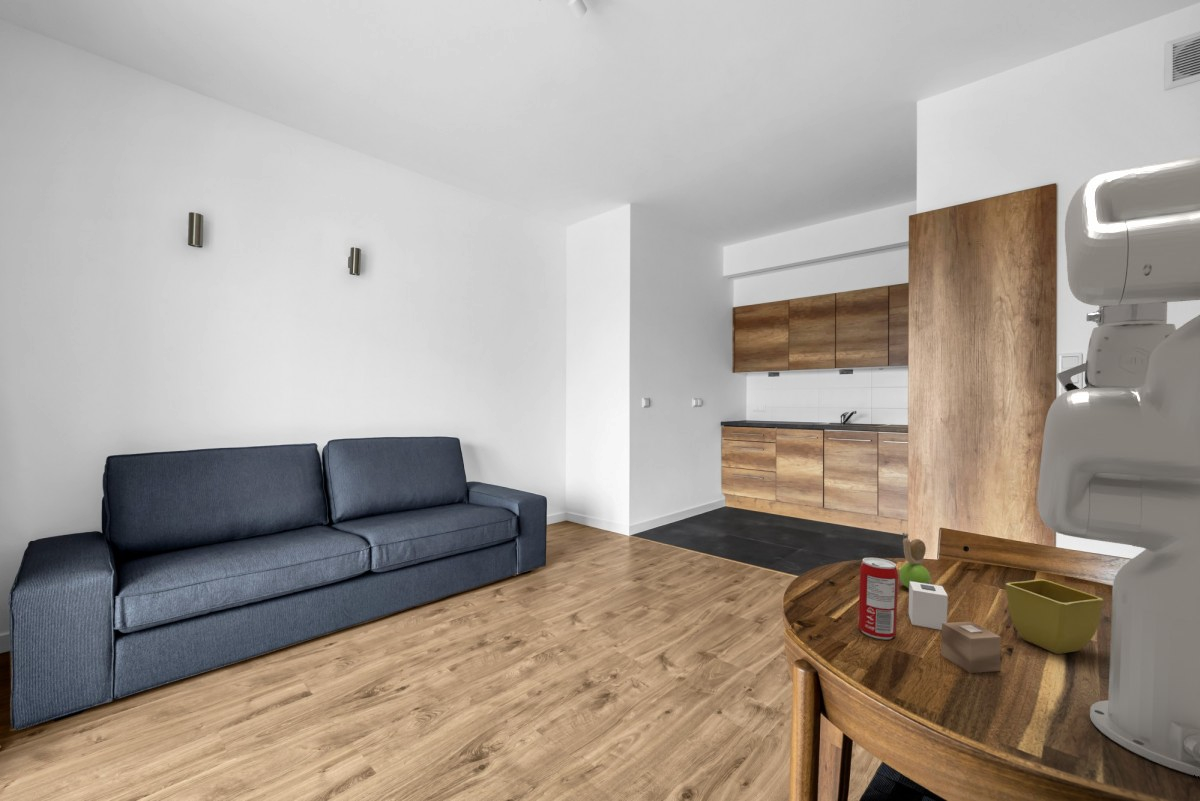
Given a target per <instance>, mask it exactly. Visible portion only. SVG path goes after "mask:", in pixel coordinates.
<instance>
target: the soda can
mask: <svg viewBox="0 0 1200 801" xmlns="http://www.w3.org/2000/svg"><path fill="white" fill-rule="evenodd" d="M898 583H899V574H898V571H897V564H896V563H895V562H893V561H891V560H888V559H884V558H881V557H880V558H879V557H864V558H862V562H861V564H860V569H859V594H858V597H859V598H858V626H857V628H859V630H860V631H861V633H863V634H864V635H866V636H867V637H870V638H874V639H878V640H887V641H888V640H891V639H893V638H894V637H895V636H896V635H897V615H898V590H899V589H898V587H899V586H898V585H899V584H898Z"/></svg>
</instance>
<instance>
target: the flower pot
mask: <svg viewBox="0 0 1200 801" xmlns="http://www.w3.org/2000/svg"><path fill="white" fill-rule="evenodd" d="M1005 591H1006V600H1007V606H1008V607H1007V608H1008V611H1009V616H1010V618H1011V620H1012V623H1013V625H1014V627H1015V629H1016V630H1017V632H1018V633H1019V635H1020V637H1021V638H1022V639H1023V640H1024V641H1027V642H1029V643H1031V644H1033V645H1036V646H1038V647H1040V648H1043V649H1045V650H1046V651H1049V652H1051V653H1054V654H1057V655H1060V654H1061V655H1062V654H1066V653H1068V654H1069V653H1072V652H1074V653H1075V652H1078V651H1079V652H1080V651H1081V650H1082V649H1083V648H1084V647H1085V646H1086V645H1088V643H1089V642H1090V641H1091V640H1092V639H1093V637H1094V635H1095V634H1096V632H1097V629H1098V626H1099V621H1100V617H1101V613H1102V607H1103V603H1104V598H1102V597H1099V596H1097V595H1094V594H1090V593H1087V592H1085V591H1082V590H1079V589H1075V588H1071V587H1069V586H1066V585H1062V584H1060V583H1056V582H1054V581H1050V580H1047V579H1043V578H1042V579H1041V578H1039V579H1032V580H1024V581H1014V582H1012V581H1011V582H1006V583H1005Z"/></svg>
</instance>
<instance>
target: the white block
mask: <svg viewBox="0 0 1200 801" xmlns="http://www.w3.org/2000/svg"><path fill="white" fill-rule="evenodd" d="M948 598H949V596H948V593H947V592H946V590H945V589H944V587H943V585H936V584H931V583H930V584H925V583H919V582H912V581H910V584H909V588H908V618H909V619H910V623H911V625H912V626H913V625H914V626H918V627H924V628H929V629H934V630H940V631H942V623H948Z"/></svg>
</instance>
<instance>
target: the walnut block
mask: <svg viewBox="0 0 1200 801" xmlns="http://www.w3.org/2000/svg"><path fill="white" fill-rule="evenodd" d="M940 642H941V646H940V648H941V649H940V656H941V657H943V658H945V659H946V660H948V661H949V662H951V663H953V664H954V665H956V666H958V667H959V668H961V669H963V670H965V671H966V672H968V673H969V674H973V673H975V674H977V673H986V672H988V673H989V672H999V671H1001V650H1002V648H1001V647H1002V636H1000V635H998V634H996V633H994V632H992V631H990V630H988V629H986V628H984V627H982V626H981V625H978V624H976V623H975V622H972V621H959V622H958V621H956V622H947V623H942V630H941V641H940Z"/></svg>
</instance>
